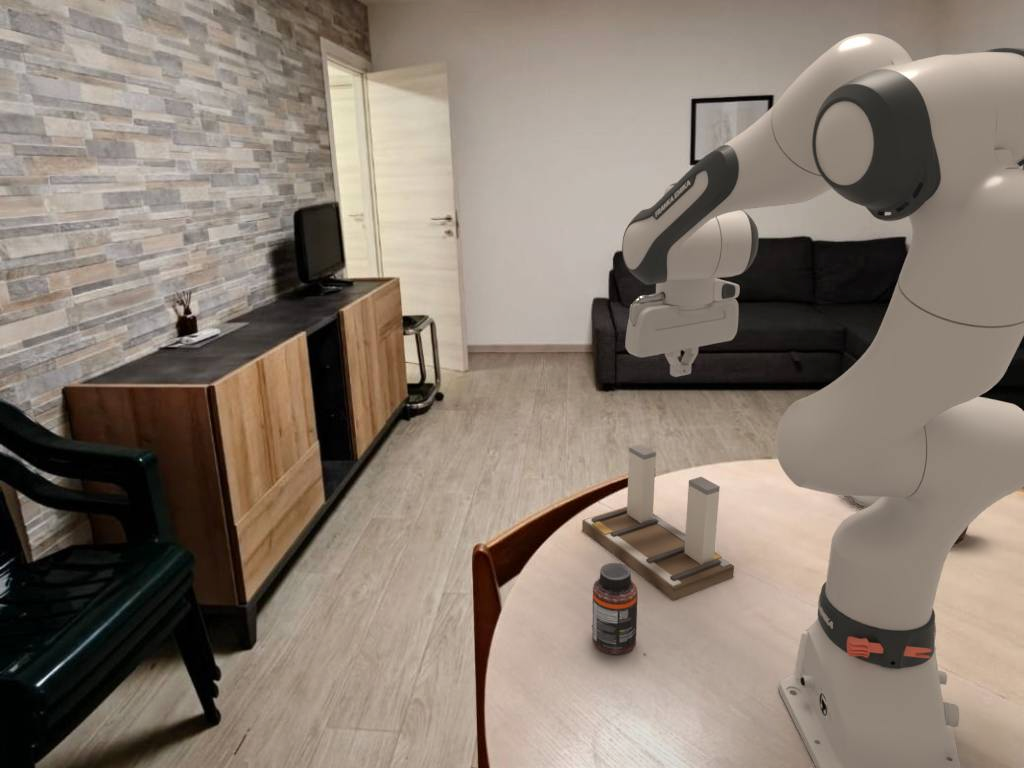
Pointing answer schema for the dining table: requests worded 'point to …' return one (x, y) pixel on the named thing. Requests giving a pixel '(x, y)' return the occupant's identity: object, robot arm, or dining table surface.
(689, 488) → the tab
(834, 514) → the dining table surface
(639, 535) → the slotted wooden base
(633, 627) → the supplement bottle
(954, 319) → the robot arm
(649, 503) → the tab
